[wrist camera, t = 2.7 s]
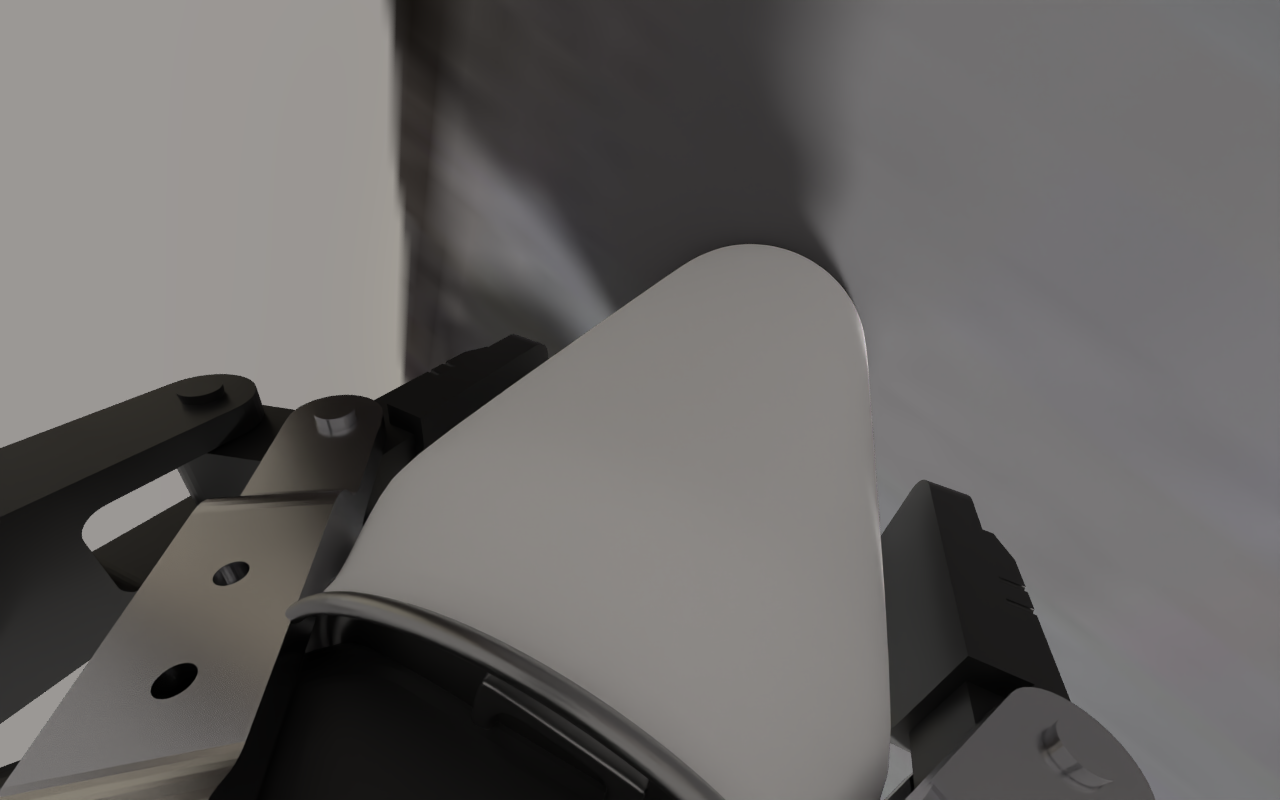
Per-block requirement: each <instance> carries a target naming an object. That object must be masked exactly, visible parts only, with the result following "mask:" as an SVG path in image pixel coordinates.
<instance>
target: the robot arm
mask: <svg viewBox="0 0 1280 800" xmlns="http://www.w3.org/2000/svg"><path fill="white" fill-rule="evenodd" d="M547 358H548V353H547V348H546V346H545V345H543V344H541V343H538V342H535V341H532V340H530V339H527V338H524V337H521V336H518V335H515V334H513V335H510V336H508V337H506V338H504V339H502V340H500V341H499V342H497V343H495V344H493V345H491V346H490V347H484V348H480V349H476V350H472V351H468V352H464V353H462V354H460V355H458V356H456V357H454V358H453V359H451V360H449V361H447V362H446V364H441V365H439V366H438V367H436V368H434V369H432V370H431V372H430V373H429V372H426V373H424V374H422V375H421V376H419V377H417V378H415V379H413V380H411V381H409V382H407V383H406V384H404V385H402V386H400V387H398V388H396V389H394V390H392V391H391V392H389V393H387V394H385V395H383V396H381V397H380V398H377V399H376V400H372V399H370V398H367V397H363V396H356V395H336V396H329V397H324V398H321V399H317V400H314V401H311V402H309V403H306V404H304V405H302V406H300V407H299V408H298V409H296V410H292V409H285V408H279V407H272V406H266V405H262V403H261V400H260V397H259V394H258V391H257V388H256V386H255V384H254V382H252V381H251V380H249V379H247V378H245V377H242V376H237V375H228V374H214V375H204V376H197V377H193V378H188V379H184V380H181V381H178V382H175V383H172V384H169V385H166V386H164V387H161V388H159V389H156V390H153V391H151V392H148V393H145V394H143V395H140V396H137V397H135V398H132V399H129V400H127V401H124V402H122V403H119V404H116V405H113V406H111V407H108V408H106V409H103V410H100V411H98V412H95V413H92V414H90V415H87V416H85V417H82V418H79V419H76V420H74V421H71V422H69V423H66V424H63V425H61V426H58V427H55V428H53V429H50V430H47V431H45V432H42V433H39V434H37V435H34V436H32V437H29V438H26V439H24V440H21V441H19V442H16V443H13V444H10V445H8V446H5V447H3V448H0V724H1V723H2V722H4V721H5V720H6V719H8V718H9V717H11V716H12V715H13V714H15V713H16V712H18V711H19V710H20V709H22V708H23V707H25V706H26V705H27V704H29V703H30V702H32V701H33V700H34V699H36V698H37V697H38V696H40V695H41V694H43V693H44V692H46V691H47V690H48V689H50V688H51V687H52V686H54V685H55V684H57V683H58V682H59V681H61V680H62V679H64V678H65V677H67V676H68V675H69V674H71V673H72V672H73V671H75V670H76V669H77V668H79V667H80V666H82V665H83V664H85V663H86V662H87V661H89V660H90V661H89V662H88V664H87V665H86V667H85V668H84V669H83V671H82V673H81V674H80V675H79V677H78V678H77V680H76V681H75V682H74V684H73V685H72V687H71V688H70V690H69V691H68V693H67V694H66V695H65V697H64V698H63V700H62V701H61V703H60V704H59V706H58V707H57V709H56V710H55V711H54V713H53V714H52V716H51V717H50V719H49V720H48V721H47V723H46V725H45V726H44V727H43V729H42V730H41V732H40V733H39V735H38V736H37V737H36V739H35V740H34V742H33V743H32V745H31V746H30V747H29V749H28V750H27V752H26V753H25V755H24V756H23V758H22V759H21V760H20V761H17V762H14V763H12V764H9V765H6V766H4V767H1V768H0V800H605V793H606V790H607V788H606V786H605V785H603V784H601V783H600V782H598V781H596V780H595V779H593V778H591V777H590V776H588V775H586V774H585V773H583V772H581V771H580V770H578V769H576V768H575V767H573V766H571V765H570V764H568V763H566V762H565V761H563V760H561V759H560V758H558V757H556V756H555V755H553V754H551V753H550V752H548V751H546V750H545V749H543V748H541V747H540V746H538V745H536V744H535V743H533V742H531V741H530V740H528V739H526V738H525V737H523V736H521V735H520V734H518V733H516V732H515V731H513V730H511V729H509V728H508V727H506V726H504V725H503V724H501V723H499V722H498V721H496V723H495V725H494V726H493V727H492V728H490V729H484V728H482V727H479V726H477V725H476V724H474V723H473V722H472V709H473V707H472V706H471V705H469V704H467V703H466V702H464V701H462V700H461V699H459V698H457V697H456V696H454V695H452V694H451V693H449V692H447V691H446V690H444V689H442V688H441V687H439V686H437V685H436V684H434V683H432V682H430V681H429V680H427V679H425V678H424V677H422V676H420V675H419V674H417V673H415V672H414V671H412V670H410V669H409V668H407V667H405V666H403V665H402V664H400V663H398V662H396V661H394V660H393V659H391V658H389V657H387V656H385V655H383V654H381V653H379V652H377V651H375V650H373V649H371V648H368V647H366V646H363V645H360V644H357V643H352V642H346V643H340V644H335V645H332V646H328V647H324V648H320V649H317V650H314V651H311V652H308V653H305V651H306V648H307V645H308V642H309V638H310V635H311V632H312V629H313V626H314V623H315V620H316V617H317V616H312V617H309V618H307V619H305V620H303V621H302V622H300V623H293V622H292V621H291V620H289V619H288V618H287V617H286V616H285V612H286V610H287V609H288V608H289V607H290V606H291V605H292V604H294V603H295V602H297V601H299V600H301V599H302V598H305V597H307V596H310V595H313V594H317V593H322V592H323V591H324V590H325V589H326V588H327V587H328V586H329V585H330V584H331V583H332V582H333V581H334V579H335V578H336V576H337V575H338V573H339V572H340V570H341V569H342V567H343V565H344V563H345V561H346V560H347V558H348V556H349V554H350V552H351V550H352V548H353V546H354V544H355V542H356V540H357V538H358V536H359V534H360V532H361V530H362V528H363V526H364V524H365V522H366V521H367V519H368V517H369V515H370V513H371V511H372V510H373V508H374V506H375V504H376V503H377V501H378V499H379V498H380V496H381V494H382V493H383V492H384V490H385V489H386V487H387V486H388V484H389V483H390V482H391V480H392V479H393V478H394V477H395V476H396V475H397V474H398V473H399V472H400V471H401V470H402V469H403V468H404V467H405V466H406V465H407V464H409V463H410V462H411V461H412V460H413V459H414V458H415V457H416V456H417V455H419V454H420V453H421V452H422V451H424V450H425V449H426V448H427V447H429V446H430V445H431V444H433V443H434V442H435V441H437V440H438V439H439V438H441V437H442V436H443V435H445V434H446V433H447V432H448V431H450V430H451V429H452V428H454V427H455V426H456V425H458V424H459V423H460V422H462V421H463V420H465V419H466V418H467V417H469V416H470V415H471V414H473V413H474V412H476V411H477V410H478V409H480V408H481V407H483V406H484V405H485V404H487V403H488V402H489V401H491V400H492V399H494V398H495V397H496V396H498V395H499V394H501V393H502V392H503V391H505V390H506V389H507V388H509V387H510V386H512V385H513V384H514V383H516V382H517V381H519V380H520V379H521V378H523V377H524V376H526V375H527V374H529V373H530V372H531V371H533V370H534V369H536V368H537V367H538V366H540V365H541V364H543V363H544V362H545V361H547ZM175 469H178V471H179V473H180V475H181V477H182V479H183V481H184V483H185V485H186V487H187V489H188V490H189V493H190V495H191V496H190V497H188V498H186V499H184V500H182V501H181V502H179V503H177V504H176V505H174V506H172V507H170V508H168V509H167V510H165V511H163V512H161V513H160V514H158V515H156V516H154V517H153V518H151V519H150V520H147V521H146V522H144V523H142V524H140V525H138V526H137V527H135V528H133V529H131V530H130V531H128V532H126V533H124V534H123V535H121V536H119V537H117V538H116V539H114V540H112V541H110V542H109V543H107V544H105V545H103V546H102V547H100V548H98V549H97V550H94V551H93V552H91V550H90V549H89V548H88V546H86V544H85V542H84V541H83V539H82V529H83V526H84V524H85V522H86V521H87V520H88V519H89V517H90V516H91V515H92V514H93V513H94V512H96V511H97V510H98V509H100V508H101V507H103V506H105V505H107V504H108V503H110V502H112V501H114V500H116V499H118V498H120V497H122V496H124V495H126V494H128V493H130V492H132V491H133V490H136V489H138V488H140V487H141V486H144V485H145V484H147V483H149V482H151V481H153V480H155V479H157V478H159V477H161V476H163V475H165V474H167V473H169V472H171V471H173V470H175ZM881 548H882V563H883V578H884V593H885V609H886V626H887V643H888V659H889V685H890V715H891V734H890V743H892V744H894V745H896V746H898V747H900V748H902V749H904V750H906V751H908V752H910V753H911V757H912V768H913V773H911V774H910V775H909V776H908V777H907V778H905V779H904V780H903V781H902V782H901V783H900V784H899V785H898V786H897V787H896V788H895V789H894V790H893V791H892V792H891V793H890V794H889V795H888V796H887V797H886V798H885V799H884V800H1155V798H1154V795H1153V793H1152V790H1151V788H1150V786H1149V783H1148V782H1147V780H1146V778H1145V776H1144V775H1143V773H1142V771H1141V770H1140V768H1139V767H1138V765H1137V764H1136V762H1135V761H1134V760H1133V758H1132V757H1131V756H1130V754H1129V753H1128V752H1127V751H1126V750H1125V748H1124V747H1123V746H1122V745H1121V744H1120V743H1119V742H1118V740H1117V739H1116V738H1115V737H1114V736H1113V735H1112V734H1111V733H1110V732H1109V731H1108V730H1107V729H1106V728H1104V727H1103V726H1102V725H1101V724H1100V723H1099V722H1098V721H1097V720H1095V719H1094V718H1093V717H1092V716H1090V715H1089V714H1088V713H1087V712H1085V711H1084V710H1082V709H1081V708H1079V707H1078V706H1077V705H1075V704H1073V703H1072V702H1071V701H1070V699H1069V696H1068V694H1067V691H1066V688H1065V686H1064V683H1063V681H1062V678H1061V676H1060V673H1059V671H1058V668H1057V666H1056V663H1055V661H1054V658H1053V655H1052V653H1051V650H1050V648H1049V645H1048V643H1047V640H1046V638H1045V635H1044V633H1043V630H1042V628H1041V625H1040V622H1039V620H1038V617H1037V615H1034V614H1033V611H1034V607H1033V605H1032V602H1031V600H1030V597H1029V595H1028V592H1025V591H1024V589H1025V584H1024V582H1023V579H1022V577H1021V574H1020V572H1019V569H1018V567H1017V564H1016V562H1015V560H1014V559H1013V557H1012V556H1011V555H1010V554H1009V552H1008V551H1007V550H1006V549H1005V547H1004V546H1003V545H1002V544H1001V543H1000V541H999V540H998V539H997V538H996V536H995V535H994V534H993V533H990V532H988V531H985V530H982V527H981V524H980V521H979V518H978V515H977V513H976V510H975V507H974V504H973V501H972V499H971V497H970V496H968V495H966V494H963V493H961V492H958V491H955V490H952V489H949V488H946V487H944V486H941V485H938V484H935V483H932V482H929V481H927V480H921V481H919V482H918V483H917V484H916V485H915V486H914V487H913V489H912V490H911V492H910V493H909V495H908V496H907V498H906V499H905V501H904V502H903V504H902V505H901V507H900V508H899V510H898V511H897V513H896V514H895V516H894V517H893V519H892V520H891V522H890V523H889V525H888V526H887V528H886V529H885V531H884V532H883V534H882V535H881Z"/></svg>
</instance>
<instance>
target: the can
mask: <svg viewBox="0 0 1280 800" xmlns="http://www.w3.org/2000/svg"><path fill="white" fill-rule="evenodd" d="M285 616H286V617H287V618H288V619H289V620H291V621H292V622H293V623H300V622H302V621H303V620H305V619H307V618H309V617H312V616H317V617H316V620H315V623H314V626H313V629H312V632H311V635H310V638H309V642H308V645H307V648H306V651H305V653H308V652H311V651H314V650H317V649H320V648H324V647H328V646H332V645H335V644H340V643H346V642H352V643H357V644H360V645H363V646H366V647H368V648H371V649H373V650H375V651H377V652H379V653H381V654H383V655H385V656H387V657H389V658H391V659H393V660H394V661H396V662H398V663H400V664H402V665H403V666H405V667H407V668H409V669H410V670H412V671H414V672H415V673H417V674H419V675H420V676H422V677H424V678H425V679H427V680H429V681H430V682H432V683H434V684H436V685H437V686H439V687H441V688H442V689H444V690H446V691H447V692H449V693H451V694H452V695H454V696H456V697H457V698H459V699H461V700H462V701H464V702H466V703H467V704H469V705H471V706H472V707H473V709H472V722H473V723H474V724H476V725H477V726H479V727H482V728H484V729H490V728H492V727H493V726H494V725H495V723H496V721H498V722H499V723H501V724H503V725H504V726H506V727H508V728H509V729H511V730H513V731H515V732H516V733H518V734H520V735H521V736H523V737H525V738H526V739H528V740H530V741H531V742H533V743H535V744H536V745H538V746H540V747H541V748H543V749H545V750H546V751H548V752H550V753H551V754H553V755H555V756H556V757H558V758H560V759H561V760H563V761H565V762H566V763H568V764H570V765H571V766H573V767H575V768H576V769H578V770H580V771H581V772H583V773H585V774H586V775H588V776H590V777H591V778H593V779H595V780H596V781H598V782H600V783H601V784H603V785H605V786H606V788H607V790H606V793H605V800H880V797H881V794H882V791H883V788H884V785H885V781H886V778H887V773H888V767H889V752H890V734H891V715H890V685H889V659H888V643H887V626H886V609H885V593H884V578H883V563H882V548H881V533H880V519H879V504H878V490H877V476H876V463H875V449H874V435H873V422H872V409H871V396H870V384H869V372H868V360H867V350H866V343H865V336H864V331H863V327H862V324H861V321H860V318H859V315H858V313H857V310H856V308H855V306H854V304H853V302H852V301H851V299H850V297H849V296H848V294H847V293H846V291H845V290H844V289H843V287H842V286H841V285H840V284H839V283H838V282H837V281H836V280H835V279H834V278H833V277H832V276H831V275H830V274H829V273H828V272H827V271H826V270H824V269H823V268H822V267H820V266H819V265H817V264H816V263H814V262H813V261H811V260H809V259H807V258H806V257H804V256H802V255H799V254H797V253H795V252H792V251H789V250H786V249H783V248H779V247H774V246H769V245H759V244H742V245H733V246H727V247H723V248H719V249H716V250H713V251H710V252H707V253H705V254H703V255H700V256H698V257H696V258H694V259H693V260H691V261H689V262H688V263H686V264H684V265H683V266H681V267H680V268H678V269H677V270H675V271H674V272H672V273H671V274H669V275H668V276H666V277H665V278H664V279H662V280H661V281H659V282H658V283H656V284H655V285H653V286H652V287H651V288H649V289H648V290H646V291H645V292H643V293H642V294H640V295H639V296H638V297H636V298H635V299H633V300H632V301H630V302H629V303H628V304H626V305H625V306H623V307H622V308H620V309H619V310H618V311H616V312H615V313H613V314H612V315H610V316H609V317H608V318H606V319H605V320H603V321H602V322H601V323H599V324H598V325H596V326H595V327H593V328H592V329H591V330H589V331H588V332H586V333H585V334H584V335H582V336H581V337H579V338H578V339H576V340H575V341H574V342H572V343H571V344H569V345H568V346H566V347H565V348H564V349H562V350H561V351H559V352H558V353H557V354H555V355H554V356H552V357H551V358H550V359H548V360H547V361H545V362H544V363H543V364H541V365H540V366H538V367H537V368H536V369H534V370H533V371H531V372H530V373H529V374H527V375H526V376H524V377H523V378H521V379H520V380H519V381H517V382H516V383H514V384H513V385H512V386H510V387H509V388H507V389H506V390H505V391H503V392H502V393H501V394H499V395H498V396H496V397H495V398H494V399H492V400H491V401H489V402H488V403H487V404H485V405H484V406H483V407H481V408H480V409H478V410H477V411H476V412H474V413H473V414H471V415H470V416H469V417H467V418H466V419H465V420H463V421H462V422H460V423H459V424H458V425H456V426H455V427H454V428H452V429H451V430H450V431H448V432H447V433H446V434H445V435H443V436H442V437H441V438H439V439H438V440H437V441H435V442H434V443H433V444H431V445H430V446H429V447H427V448H426V449H425V450H424V451H422V452H421V453H420V454H419V455H417V456H416V457H415V458H414V459H413V460H412V461H411V462H410V463H409V464H407V465H406V466H405V467H404V468H403V469H402V470H401V471H400V472H399V473H398V474H397V475H396V476H395V477H394V478H393V479H392V480H391V482H390V483H389V484H388V486H387V487H386V489H385V490H384V492H383V493H382V494H381V496H380V498H379V499H378V501H377V503H376V504H375V506H374V508H373V510H372V511H371V513H370V515H369V517H368V519H367V521H366V522H365V524H364V526H363V528H362V530H361V532H360V534H359V536H358V538H357V540H356V542H355V544H354V546H353V548H352V550H351V552H350V554H349V556H348V558H347V560H346V561H345V563H344V565H343V567H342V569H341V570H340V572H339V573H338V575H337V576H336V578H335V579H334V581H333V582H332V583H331V584H330V585H329V586H328V587H327V588H326V589H325V590H324V591H323V592H322V593H317V594H313V595H310V596H307V597H305V598H302V599H301V600H299V601H297V602H295V603H294V604H292V605H291V606H290V607H289V608H288V609H287V610H286V612H285Z"/></svg>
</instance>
